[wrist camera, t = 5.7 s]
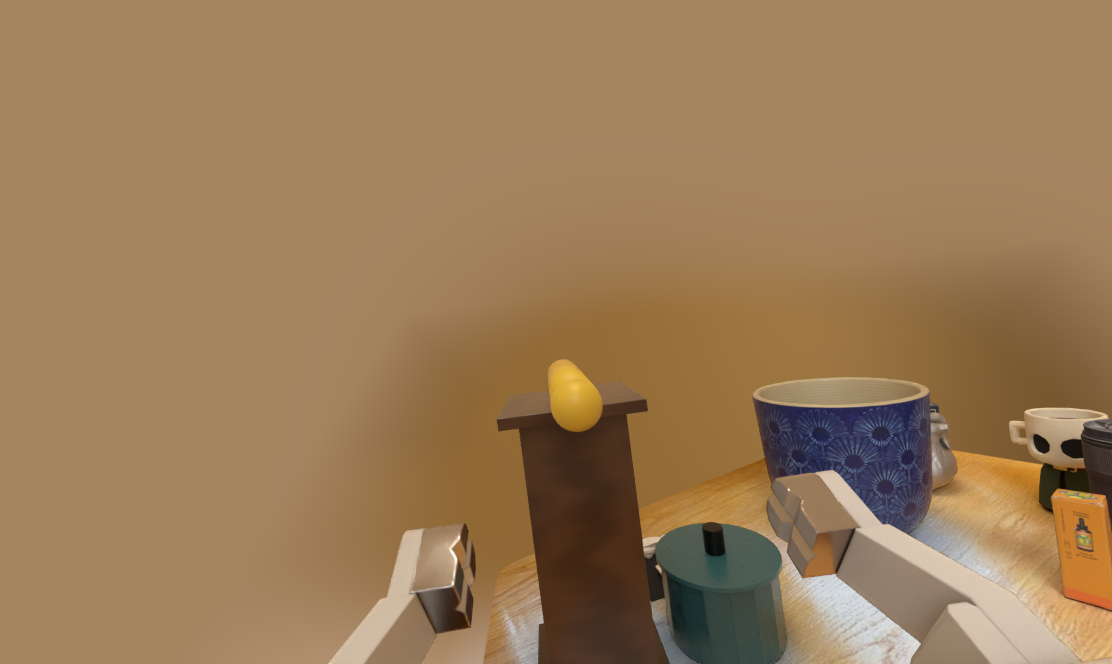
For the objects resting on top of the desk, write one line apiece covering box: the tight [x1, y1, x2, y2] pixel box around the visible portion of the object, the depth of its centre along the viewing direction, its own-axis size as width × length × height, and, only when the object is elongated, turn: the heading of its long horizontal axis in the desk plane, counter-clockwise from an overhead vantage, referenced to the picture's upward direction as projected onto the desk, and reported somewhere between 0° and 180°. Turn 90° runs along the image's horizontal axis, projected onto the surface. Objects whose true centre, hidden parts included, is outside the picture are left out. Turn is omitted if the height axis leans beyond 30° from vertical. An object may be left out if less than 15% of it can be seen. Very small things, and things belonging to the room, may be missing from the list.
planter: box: [752, 377, 933, 534], centre depth 59 cm, size 21×21×19 cm
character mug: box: [1009, 408, 1109, 510], centre depth 55 cm, size 11×7×13 cm, turn 22°
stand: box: [497, 381, 669, 664], centre depth 39 cm, size 12×12×26 cm
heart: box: [930, 413, 958, 490], centre depth 68 cm, size 10×10×12 cm
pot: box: [661, 569, 787, 664], centre depth 42 cm, size 11×11×8 cm
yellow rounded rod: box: [548, 359, 603, 432], centre depth 35 cm, size 22×3×3 cm, turn 1°
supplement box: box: [1051, 489, 1112, 611], centre depth 40 cm, size 3×3×10 cm
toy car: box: [643, 534, 665, 571], centre depth 56 cm, size 8×6×2 cm
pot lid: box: [655, 522, 782, 593], centre depth 42 cm, size 12×12×4 cm
